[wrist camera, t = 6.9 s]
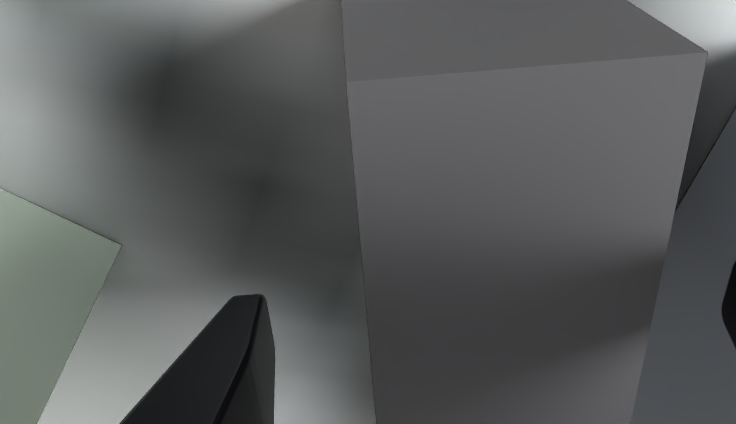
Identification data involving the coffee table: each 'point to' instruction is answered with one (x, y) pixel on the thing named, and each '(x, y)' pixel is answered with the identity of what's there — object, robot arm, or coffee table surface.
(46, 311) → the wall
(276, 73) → the coffee table surface
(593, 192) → the grey rectangular block
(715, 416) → the gray rectangular panel
